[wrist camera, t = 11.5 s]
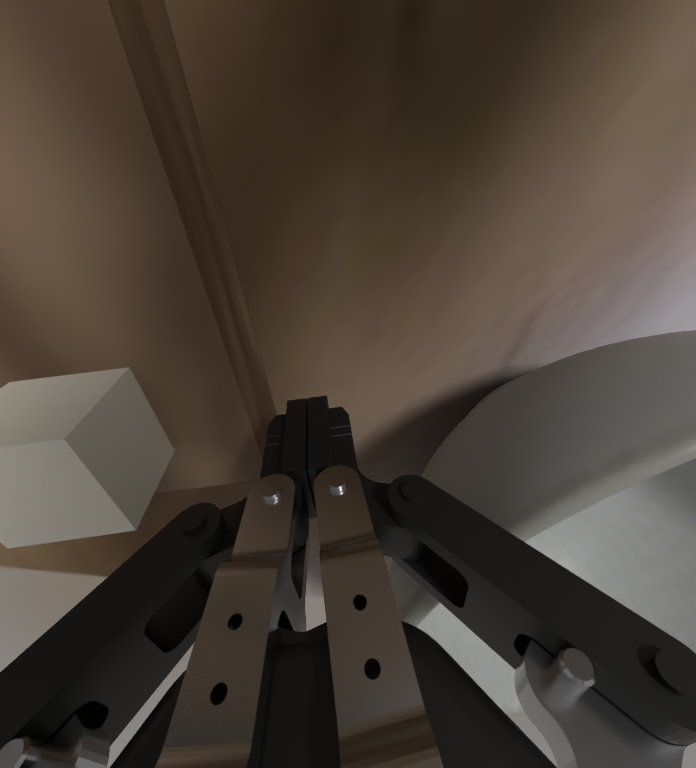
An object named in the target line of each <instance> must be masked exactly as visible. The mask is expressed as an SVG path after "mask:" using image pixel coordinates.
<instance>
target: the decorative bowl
mask: <svg viewBox="0 0 696 768" xmlns="http://www.w3.org/2000/svg"><path fill="white" fill-rule="evenodd" d="M420 477H423V478H425V479H427V480H428V481H430V482H431V483H433V484H435V485H436V486H438V487H439V488H441V489H442V490H444V491H446V492H447V493H449V494H450V495H452V496H453V497H455V498H456V499H458V500H460V501H461V502H463V503H464V504H466V505H467V506H469V507H471V508H472V509H474V510H475V511H477V512H478V513H480V514H482V515H483V516H485V517H486V518H488V519H489V520H491V521H492V522H494V523H496V524H497V525H499V526H500V527H502V528H503V529H505V530H507V531H508V532H510V533H511V534H513V535H514V536H516V537H518V538H519V539H521V540H522V541H524V542H525V543H527V544H528V545H530V546H532V547H533V548H535V549H536V550H538V551H539V552H541V553H543V554H544V555H546V556H547V557H549V558H550V559H552V560H554V561H555V562H557V563H558V564H560V565H561V566H563V567H564V568H566V569H568V570H569V571H571V572H572V573H574V574H575V575H577V576H579V577H580V578H582V579H583V580H585V581H586V582H588V583H590V584H591V585H593V586H594V587H596V588H597V589H599V590H600V591H602V592H604V593H605V594H607V595H608V596H610V597H611V598H613V599H615V600H616V601H618V602H619V603H621V604H622V605H624V606H626V607H627V608H629V609H630V610H632V611H633V612H635V613H636V614H638V615H640V616H641V617H643V618H644V619H646V620H647V621H649V622H651V623H652V624H654V625H655V626H657V627H658V628H660V629H662V630H663V631H665V632H666V633H668V634H669V635H671V636H672V637H674V638H676V639H677V640H679V641H680V642H682V643H683V644H685V645H686V646H687V647H689V648H690V649H691V650H692V651H693V652H695V653H696V330H693V331H683V332H675V333H667V334H661V335H655V336H649V337H643V338H637V339H632V340H627V341H623V342H618V343H614V344H610V345H605V346H601V347H598V348H594V349H591V350H588V351H584V352H581V353H578V354H575V355H572V356H569V357H566V358H564V359H561V360H558V361H556V362H553V363H551V364H548V365H546V366H544V367H541V368H539V369H537V370H535V371H533V372H530V373H527V374H524V375H522V376H519V377H517V378H515V379H513V380H511V381H509V382H507V383H505V384H503V385H502V386H500V387H498V388H497V389H495V390H494V391H492V392H491V393H490V394H488V395H487V396H486V397H484V398H483V399H482V400H481V401H480V402H479V403H478V404H477V405H476V406H475V407H473V409H472V410H471V411H470V412H469V413H468V414H467V416H466V417H465V418H464V419H463V420H462V421H461V422H460V423H459V424H458V425H457V426H456V427H455V428H454V429H453V430H452V432H451V433H450V434H449V435H448V436H447V437H446V438H445V440H444V441H443V442H442V444H441V445H440V446H439V447H438V449H437V450H436V452H435V453H434V455H433V456H432V458H431V459H430V461H429V462H428V464H427V466H426V467H425V469H424V471H423V473H422V475H421V476H420ZM389 579H390V582H391V586H392V590H393V593H394V597H395V601H396V604H397V608H398V612H399V615H400V619H401V621H403V622H407V623H409V624H411V625H413V626H415V627H418V628H419V629H421V630H422V631H424V632H425V633H427V634H428V635H429V636H431V637H432V638H433V639H434V640H436V641H437V642H438V643H439V644H440V645H441V646H442V647H443V648H444V649H445V650H446V651H447V652H448V653H449V654H450V656H451V657H452V658H453V659H454V660H455V661H456V662H457V663H458V664H459V665H460V666H461V667H462V668H463V669H464V670H465V671H466V672H467V673H468V675H469V676H470V677H471V678H472V679H473V680H474V681H475V682H476V683H477V684H478V685H479V686H480V687H481V688H482V689H483V690H484V691H485V692H486V693H487V695H488V696H489V697H490V698H491V699H492V700H493V701H494V702H495V703H496V704H497V705H498V706H499V707H500V708H501V709H502V710H503V711H504V712H505V714H506V715H510V714H526V713H525V712H524V710H523V708H522V706H521V704H520V702H519V699H518V697H517V693H516V690H515V683H514V675H515V669H514V668H512V667H511V666H510V665H509V664H508V663H507V662H506V661H505V660H503V659H502V658H501V657H500V656H499V655H498V654H497V653H496V652H495V651H493V650H492V649H491V648H490V647H489V646H488V645H487V644H486V643H485V642H483V641H482V640H481V639H480V638H479V637H478V636H477V635H476V634H474V633H473V632H472V631H471V630H470V629H469V628H468V627H467V626H466V625H464V624H463V623H462V622H461V621H460V620H459V619H458V618H457V617H456V616H454V615H453V614H452V613H451V612H450V611H449V610H448V609H447V608H445V607H444V606H443V605H442V604H441V603H440V602H439V601H438V600H437V599H435V598H434V597H433V596H432V595H431V594H430V593H429V592H428V591H427V590H425V589H424V588H423V587H422V586H421V585H420V584H419V583H418V582H416V581H415V580H414V579H413V578H412V577H411V576H410V575H409V574H408V573H406V572H405V571H404V570H403V569H402V568H401V567H400V566H399V565H398V564H396V562H395V561H394V560H393V559H392V565H391V570H390V577H389Z"/></svg>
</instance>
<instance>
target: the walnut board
mask: <svg viewBox="0 0 696 768" xmlns="http://www.w3.org/2000/svg"><path fill="white" fill-rule="evenodd" d="M127 367H130V369H131V371H132V373H133V374H134V376H135V378H136V380H137V382H138V384H139V385H140V387H141V389H142V391H143V393H144V395H145V396H146V398H147V400H148V402H149V404H150V406H151V408H152V409H153V411H154V413H155V415H156V417H157V419H158V420H159V422H160V424H161V426H162V428H163V430H164V431H165V433H166V435H167V437H168V439H169V441H170V442H171V444H172V446H173V448H174V450H175V451H174V453H173V455H172V457H171V459H170V461H169V463H168V466H167V468H166V470H165V472H164V474H163V476H162V478H161V480H160V482H159V484H158V486H157V488H156V491H155V493H154V494H160V493H168V492H175V491H182V490H189V489H197V488H204V487H211V486H218V485H226V484H233V483H240V482H247V481H255V480H260V475H261V468H262V462H263V456H264V449H265V446H266V445H265V443H266V438H267V431H268V425H269V424H270V422H271V421H272V420H273V418H274V417H275V416H276V411H275V407H274V404H273V400H272V396H271V393H270V389H269V385H268V382H267V378H266V374H265V371H264V367H263V363H262V360H261V356H260V352H259V349H258V345H257V341H256V338H255V334H254V330H253V327H252V323H251V319H250V316H249V312H248V308H247V305H246V301H245V297H244V294H243V290H242V286H241V283H240V279H239V275H238V272H237V268H236V264H235V261H234V257H233V253H232V250H231V246H230V242H229V239H228V235H227V231H226V228H225V224H224V220H223V217H222V213H221V209H220V206H219V202H218V198H217V195H216V191H215V187H214V184H213V180H212V176H211V173H210V169H209V165H208V162H207V158H206V154H205V151H204V147H203V143H202V140H201V136H200V132H199V129H198V125H197V121H196V118H195V114H194V110H193V107H192V103H191V99H190V96H189V92H188V88H187V85H186V81H185V77H184V74H183V70H182V66H181V63H180V59H179V55H178V52H177V48H176V44H175V41H174V37H173V33H172V30H171V26H170V22H169V19H168V15H167V11H166V8H165V4H164V0H0V388H2V387H3V386H5V385H6V384H8V383H9V382H15V381H23V380H31V379H39V378H47V377H55V376H63V375H71V374H79V373H87V372H95V371H103V370H111V369H119V368H127Z"/></svg>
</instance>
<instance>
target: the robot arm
mask: <svg viewBox="0 0 696 768" xmlns="http://www.w3.org/2000/svg"><path fill="white" fill-rule="evenodd" d="M265 445H266V446H265V449H264V456H263V462H262V468H261V475H260V480H258V481H257V482H256V483H255V484H254V485H253V486H252V488H251V489H250V491H249V494H248V497H246V498H245V499H243V500H242V501H240V502H238V503H236V504H233V505H231V506H228V507H226V508H224V509H221V510H219V509H218V507H216V506H215V505H213V504H211V503H199V504H195V505H193V506H191V507H189V508H187V509H185V510H184V511H182V512H181V513H180V514H179V515H178V516H176V517H175V518H174V519H173V520H172V521H171V522H170V523H169V524H167V525H166V526H165V527H164V528H163V529H162V530H161V531H160V532H158V533H157V534H156V535H155V536H154V537H153V538H152V539H150V540H149V541H148V542H147V543H146V544H145V545H144V546H143V547H141V548H140V549H139V550H138V551H137V552H136V553H135V554H134V555H132V556H131V557H130V558H129V559H128V560H127V561H126V562H124V563H123V564H122V565H121V566H120V567H119V568H118V569H117V570H115V571H114V572H113V573H112V574H111V575H110V576H109V577H108V578H106V579H105V580H104V581H103V582H102V583H101V584H100V585H98V586H97V587H96V588H95V589H94V590H93V591H92V592H91V593H89V594H88V595H87V596H86V597H85V598H84V599H83V600H82V601H80V602H79V603H78V604H77V605H76V606H75V607H74V608H73V609H71V610H70V611H69V612H68V613H67V614H66V615H65V616H63V617H62V618H61V619H60V620H59V621H58V622H57V623H56V624H55V625H53V626H52V627H51V628H50V629H49V630H48V631H47V632H45V633H44V634H43V635H42V636H41V637H40V638H39V639H38V640H36V641H35V642H34V643H33V644H32V645H31V646H30V647H28V648H27V649H26V650H25V651H24V652H23V653H22V654H21V655H19V656H18V657H17V658H16V659H15V660H14V661H13V662H12V663H10V664H9V665H8V666H7V667H6V668H5V669H4V670H2V671H1V672H0V768H107V763H108V759H109V752H110V746H111V744H112V743H113V742H114V741H115V740H116V738H117V737H118V736H119V734H120V733H121V732H122V731H123V729H124V728H125V727H126V726H127V725H128V723H129V722H130V721H131V719H133V717H134V716H135V715H136V714H137V712H138V711H139V710H140V709H141V707H142V706H143V705H144V703H145V702H146V701H147V700H148V699H149V698H150V696H151V695H152V694H153V693H154V691H155V690H156V689H157V688H158V686H159V685H160V684H161V683H162V682H163V680H164V679H165V678H166V677H167V675H168V674H169V673H170V672H171V670H172V669H173V668H174V667H175V665H176V664H177V663H178V662H179V661H180V659H181V658H182V657H183V656H184V654H185V653H186V652H187V651H188V649H189V648H190V647H191V646H192V645H193V643H194V642H195V643H194V647H193V650H192V653H191V657H190V660H189V663H188V666H187V670H185V671H184V672H183V673H182V675H181V676H180V677H179V678H178V679H177V680H176V681H175V682H174V684H173V685H172V686H171V687H170V688H169V690H168V691H167V692H166V694H165V695H164V696H163V698H162V699H161V700H160V702H159V703H158V704H157V706H156V707H155V708H154V710H153V711H152V712H151V714H150V715H149V716H148V718H147V719H146V720H145V722H144V723H143V724H142V726H141V727H140V728H139V730H138V731H137V732H136V734H135V735H134V736H133V737H132V739H131V740H130V741H129V743H128V744H127V745H126V747H125V748H124V749H123V751H122V752H121V753H120V755H119V756H118V757H117V759H116V760H115V761H114V763H113V764H112V765H111V767H110V768H557V767H556V766H555V765H554V764H553V763H552V762H551V761H550V760H549V759H548V758H547V757H546V756H545V755H544V754H543V753H542V751H541V750H540V749H538V747H537V746H536V745H535V744H534V743H533V742H532V741H531V740H530V739H529V738H528V737H527V736H526V735H525V734H524V732H522V730H520V728H519V727H518V726H517V725H516V724H515V723H514V722H513V721H512V720H511V719H510V718H509V717H508V716H507V715H506V714H505V712H504V711H503V710H502V709H501V708H500V707H499V706H498V705H497V704H496V703H495V702H494V701H493V700H492V699H491V698H490V697H489V696H488V695H487V693H486V692H485V691H484V690H483V689H482V688H481V687H480V686H479V685H478V684H477V683H476V682H475V681H474V680H473V679H472V678H471V677H470V676H469V675H468V673H467V672H466V671H465V670H464V669H463V668H462V667H461V666H460V665H459V664H458V663H457V662H456V661H455V660H454V659H453V658H452V657H451V656H450V654H449V653H448V652H447V651H446V650H445V649H444V648H443V647H442V646H441V645H440V644H439V643H438V642H437V641H436V640H434V639H433V638H432V637H431V636H429V635H428V634H427V633H425V632H424V631H422V630H421V629H419V628H418V627H415V626H413V625H411V624H409V623H407V622H403V621H401V619H400V615H399V612H398V608H397V604H396V601H395V597H394V593H393V590H392V586H391V582H390V579H389V575H388V571H387V568H386V564H385V560H384V557H383V555H386V556H391V557H392V559H393V560H394V561H395V562H396V564H398V565H399V566H400V567H401V568H402V569H403V570H404V571H405V572H406V573H408V574H409V575H410V576H411V577H412V578H413V579H414V580H415V581H416V582H418V583H419V584H420V585H421V586H422V587H423V588H424V589H425V590H427V591H428V592H429V593H430V594H431V595H432V596H433V597H434V598H435V599H437V600H438V601H439V602H440V603H441V604H442V605H443V606H444V607H445V608H447V609H448V610H449V611H450V612H451V613H452V614H453V615H454V616H456V617H457V618H458V619H459V620H460V621H461V622H462V623H463V624H464V625H466V626H467V627H468V628H469V629H470V630H471V631H472V632H473V633H474V634H476V635H477V636H478V637H479V638H480V639H481V640H482V641H483V642H485V643H486V644H487V645H488V646H489V647H490V648H491V649H492V650H493V651H495V652H496V653H497V654H498V655H499V656H500V657H501V658H502V659H503V660H505V661H506V662H507V663H508V664H509V665H510V666H511V667H512V668H514V669H515V675H514V683H515V690H516V693H517V697H518V699H519V702H520V704H521V706H522V708H523V710H524V712H525V713H526V715H527V716H528V718H529V719H530V720H531V721H532V723H533V724H534V725H535V726H536V727H537V729H538V730H539V731H540V732H541V733H542V735H543V736H544V738H545V739H546V741H547V743H548V744H549V746H550V748H551V750H552V752H553V755H554V757H555V759H556V762H557V766H558V768H681V766H682V758H683V753H684V750H685V748H686V747H687V746H688V745H690V744H693V743H695V742H696V653H695V652H693V651H692V650H691V649H690V648H689V647H687V646H686V645H685V644H683V643H682V642H680V641H679V640H677V639H676V638H674V637H672V636H671V635H669V634H668V633H666V632H665V631H663V630H662V629H660V628H658V627H657V626H655V625H654V624H652V623H651V622H649V621H647V620H646V619H644V618H643V617H641V616H640V615H638V614H636V613H635V612H633V611H632V610H630V609H629V608H627V607H626V606H624V605H622V604H621V603H619V602H618V601H616V600H615V599H613V598H611V597H610V596H608V595H607V594H605V593H604V592H602V591H600V590H599V589H597V588H596V587H594V586H593V585H591V584H590V583H588V582H586V581H585V580H583V579H582V578H580V577H579V576H577V575H575V574H574V573H572V572H571V571H569V570H568V569H566V568H564V567H563V566H561V565H560V564H558V563H557V562H555V561H554V560H552V559H550V558H549V557H547V556H546V555H544V554H543V553H541V552H539V551H538V550H536V549H535V548H533V547H532V546H530V545H528V544H527V543H525V542H524V541H522V540H521V539H519V538H518V537H516V536H514V535H513V534H511V533H510V532H508V531H507V530H505V529H503V528H502V527H500V526H499V525H497V524H496V523H494V522H492V521H491V520H489V519H488V518H486V517H485V516H483V515H482V514H480V513H478V512H477V511H475V510H474V509H472V508H471V507H469V506H467V505H466V504H464V503H463V502H461V501H460V500H458V499H456V498H455V497H453V496H452V495H450V494H449V493H447V492H446V491H444V490H442V489H441V488H439V487H438V486H436V485H435V484H433V483H431V482H430V481H428V480H427V479H425V478H423V477H420V476H416V475H404V476H401V477H398V478H397V479H395V480H394V481H393V482H392V483H391V484H385V483H378V482H374V481H371V480H369V479H367V478H366V477H364V476H363V475H362V474H361V472H360V471H359V469H358V467H357V462H356V456H355V450H354V444H353V438H352V432H351V426H350V420H349V414H348V413H347V412H346V411H345V410H344V409H343V408H342V407H336V408H329V406H328V400H327V396H320V397H312V398H308V400H307V398H305V399H297V400H289V401H287V410H286V414H284V415H276V416H275V417H274V418H273V420H272V421H271V422H270V424H269V425H268V431H267V438H266V443H265ZM316 510H317V515H316ZM314 517H317V519H318V528H319V537H320V547H321V551H320V564H321V574H322V583H323V593H324V602H325V611H326V620H327V622H326V623H324V624H321V625H319V626H317V627H315V628H313V629H311V630H309V631H306V614H305V595H306V581H307V568H308V555H309V518H314Z"/></svg>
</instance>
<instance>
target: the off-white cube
mask: <svg viewBox="0 0 696 768" xmlns="http://www.w3.org/2000/svg"><path fill="white" fill-rule="evenodd" d="M174 451H175V450H174V448H173V446H172V444H171V442H170V441H169V439H168V437H167V435H166V433H165V431H164V430H163V428H162V426H161V424H160V422H159V420H158V419H157V417H156V415H155V413H154V411H153V409H152V408H151V406H150V404H149V402H148V400H147V398H146V396H145V395H144V393H143V391H142V389H141V387H140V385H139V384H138V382H137V380H136V378H135V376H134V374H133V373H132V371H131V369H130V367H127V368H119V369H111V370H103V371H95V372H87V373H79V374H71V375H63V376H55V377H47V378H39V379H31V380H23V381H15V382H9V383H8V384H6V385H5V386H3V387H2V388H0V543H1V544H3V545H4V546H5V547H6V548H8V549H9V548H16V547H23V546H30V545H37V544H44V543H51V542H58V541H65V540H72V539H79V538H86V537H93V536H100V535H107V534H114V533H122V532H129V531H136V530H137V528H138V526H139V524H140V522H141V520H142V518H143V516H144V513H145V511H146V509H147V507H148V505H149V503H150V501H151V499H152V497H153V495H154V493H155V491H156V488H157V486H158V484H159V482H160V480H161V478H162V476H163V474H164V472H165V470H166V468H167V466H168V463H169V461H170V459H171V457H172V455H173V453H174Z"/></svg>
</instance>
